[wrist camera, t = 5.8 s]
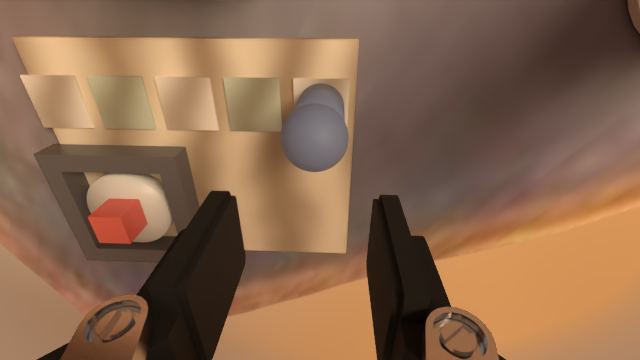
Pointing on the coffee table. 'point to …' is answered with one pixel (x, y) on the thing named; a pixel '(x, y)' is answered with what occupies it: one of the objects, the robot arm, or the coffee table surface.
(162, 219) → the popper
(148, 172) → the frame
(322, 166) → the pawn
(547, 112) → the coffee table surface
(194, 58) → the board
